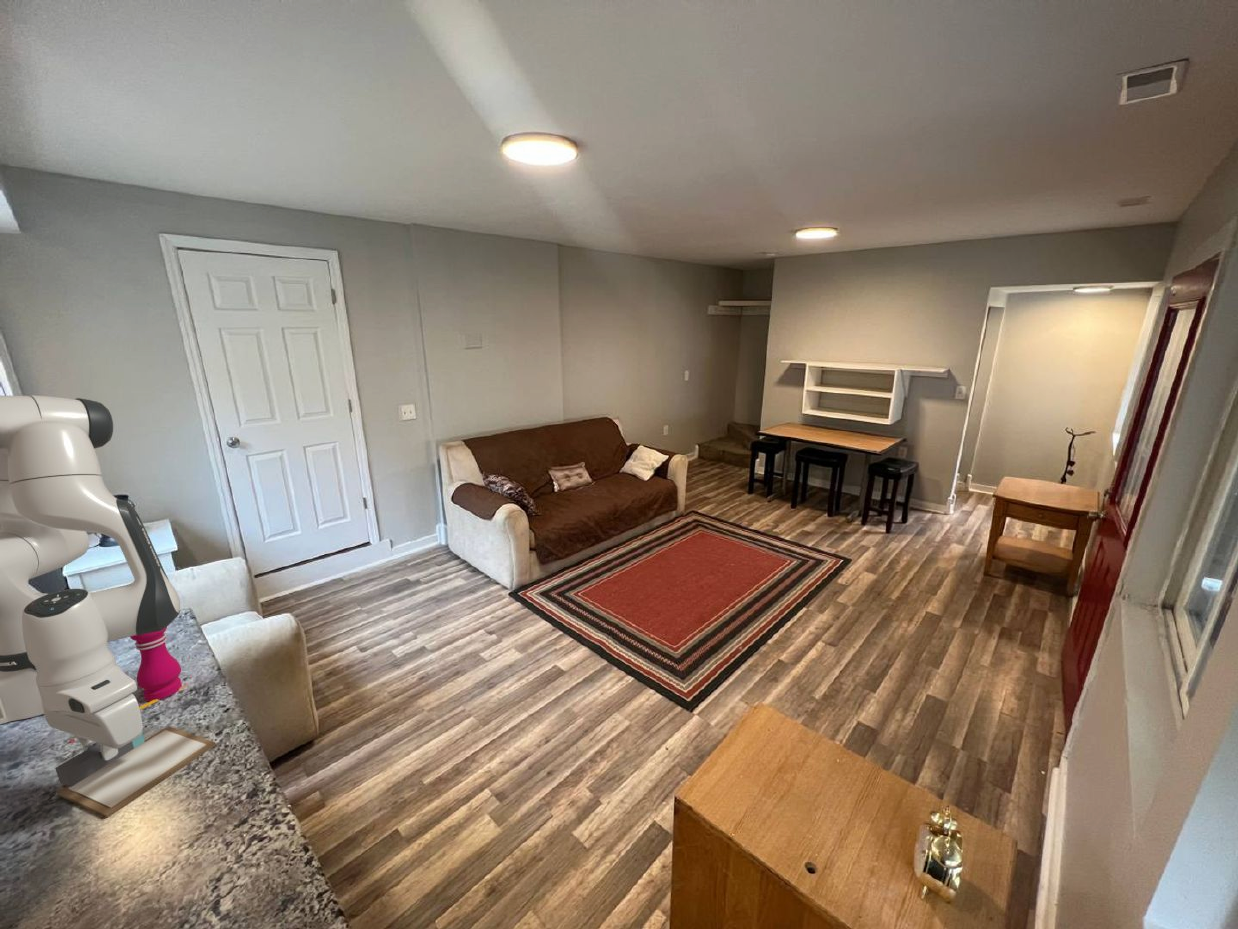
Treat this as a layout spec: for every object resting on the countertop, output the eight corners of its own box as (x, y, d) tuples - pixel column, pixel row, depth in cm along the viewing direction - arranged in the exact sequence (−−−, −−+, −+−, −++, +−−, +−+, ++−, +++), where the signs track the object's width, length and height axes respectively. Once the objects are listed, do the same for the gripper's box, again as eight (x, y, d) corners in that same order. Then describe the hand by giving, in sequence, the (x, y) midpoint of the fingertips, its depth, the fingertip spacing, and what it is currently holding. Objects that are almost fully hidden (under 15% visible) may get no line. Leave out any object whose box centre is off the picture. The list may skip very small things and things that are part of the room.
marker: (60, 783, 80) (55, 768, 79) (134, 738, 89) (130, 725, 88) (70, 787, 79) (65, 772, 78) (144, 742, 88) (141, 728, 88)
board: (57, 795, 82) (56, 791, 82) (169, 729, 97) (168, 725, 97) (106, 818, 77) (105, 814, 77) (215, 745, 92) (214, 741, 92)
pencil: (69, 743, 94) (68, 740, 94) (188, 685, 111) (188, 682, 111) (70, 745, 93) (70, 742, 93) (190, 686, 110) (190, 683, 110)
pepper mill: (158, 705, 104) (137, 621, 100) (132, 701, 105) (111, 618, 101) (193, 683, 111) (175, 605, 107) (168, 680, 112) (150, 602, 108)
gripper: (19, 686, 81) (42, 755, 84) (92, 708, 75) (114, 782, 78) (70, 664, 87) (89, 729, 90) (142, 683, 81) (161, 752, 83)
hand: (101, 754), depth 84 cm, fingers closed on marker, 3 cm apart
